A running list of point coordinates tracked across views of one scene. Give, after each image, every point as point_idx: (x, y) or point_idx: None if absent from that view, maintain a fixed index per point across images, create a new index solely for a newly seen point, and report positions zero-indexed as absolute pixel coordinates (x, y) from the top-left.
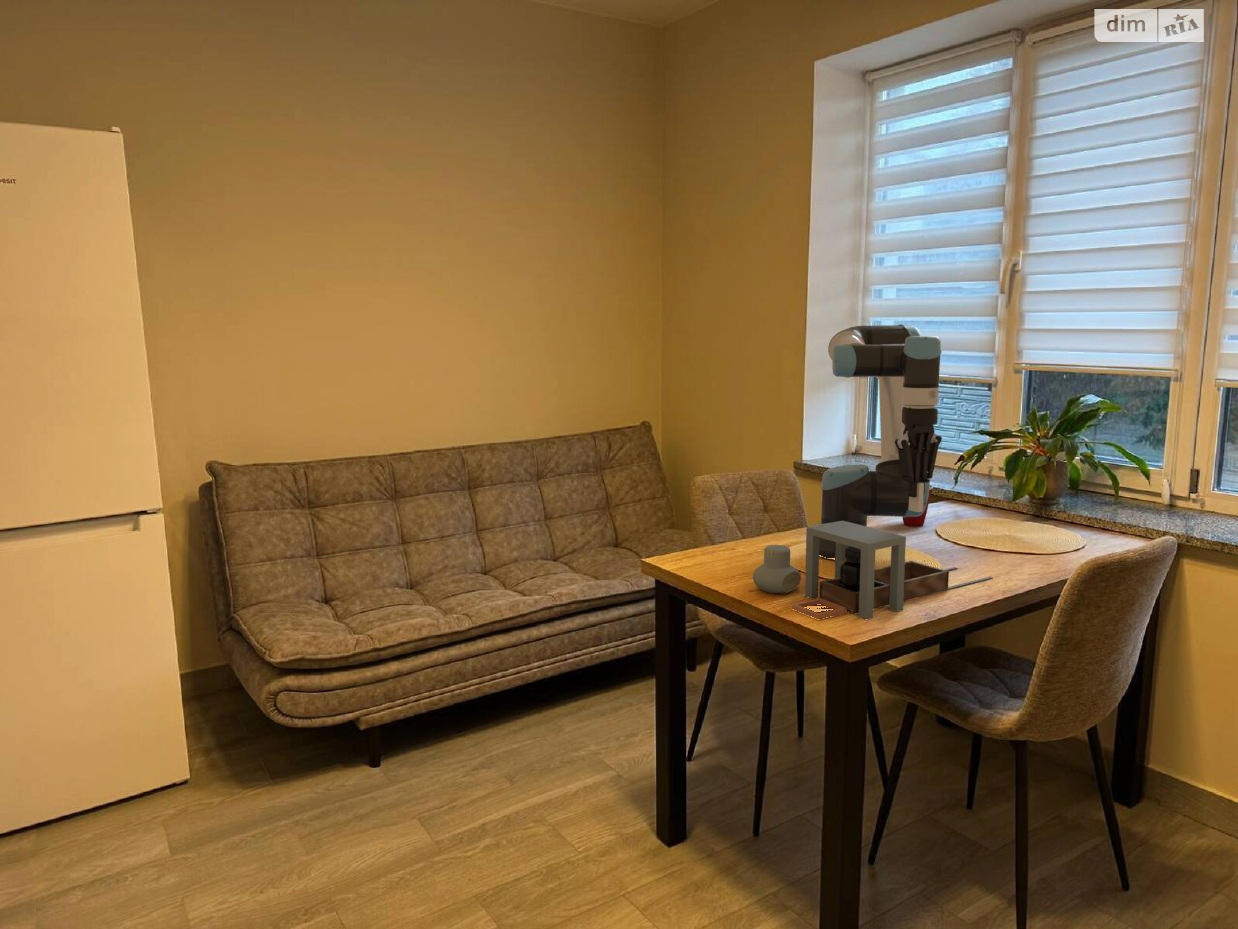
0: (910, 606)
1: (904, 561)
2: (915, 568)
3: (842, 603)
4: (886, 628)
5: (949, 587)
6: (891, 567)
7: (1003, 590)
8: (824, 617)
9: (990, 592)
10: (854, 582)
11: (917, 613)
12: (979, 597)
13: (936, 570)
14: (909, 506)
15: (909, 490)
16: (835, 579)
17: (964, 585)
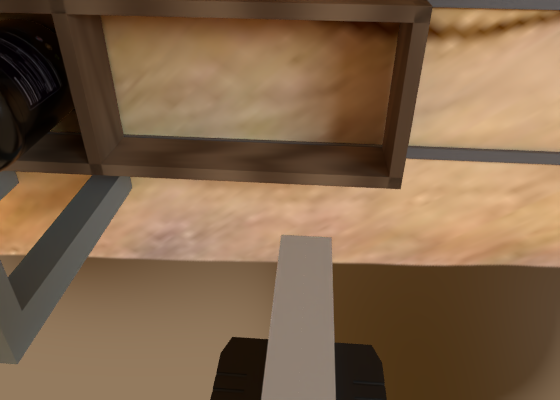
0: (172, 181)
1: (66, 285)
2: (405, 40)
3: None
4: (12, 239)
5: (410, 151)
6: (39, 243)
7: (513, 241)
8: None
9: (467, 231)
10: None
11: (149, 221)
12: (397, 237)
13: (393, 146)
14: (279, 259)
15: (214, 396)
16: None
17: (477, 159)
